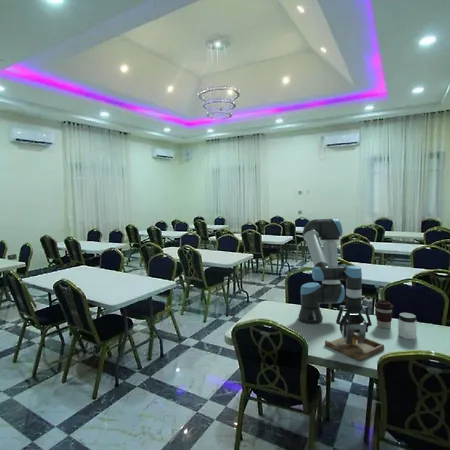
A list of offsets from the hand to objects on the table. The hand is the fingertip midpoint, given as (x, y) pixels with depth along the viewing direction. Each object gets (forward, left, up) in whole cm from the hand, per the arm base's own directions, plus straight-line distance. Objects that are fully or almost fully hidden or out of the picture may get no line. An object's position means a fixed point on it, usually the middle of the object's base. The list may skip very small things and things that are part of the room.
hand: (353, 337), depth 168 cm
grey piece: (-2, +1, -1) cm, 3 cm away
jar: (+9, +34, -5) cm, 36 cm away
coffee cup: (-6, +36, -5) cm, 37 cm away
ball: (-1, 0, -2) cm, 3 cm away
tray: (0, 0, -5) cm, 5 cm away
